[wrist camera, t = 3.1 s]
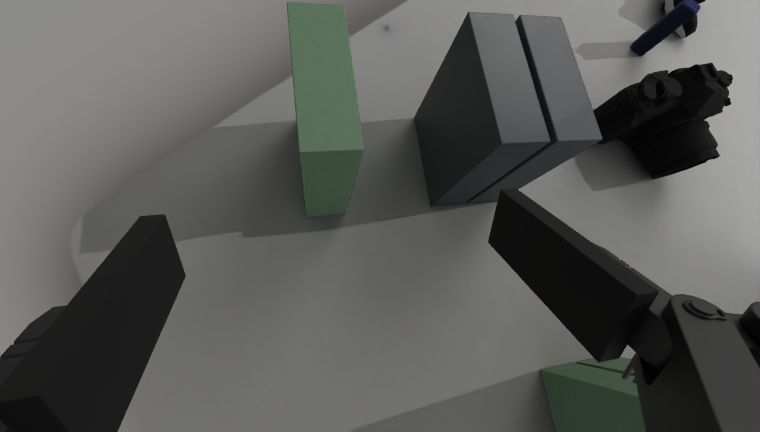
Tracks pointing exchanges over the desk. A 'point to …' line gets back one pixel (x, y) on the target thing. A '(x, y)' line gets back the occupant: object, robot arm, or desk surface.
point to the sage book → (324, 106)
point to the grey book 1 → (478, 111)
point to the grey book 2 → (550, 103)
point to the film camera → (667, 117)
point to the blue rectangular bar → (665, 26)
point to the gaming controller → (688, 26)
